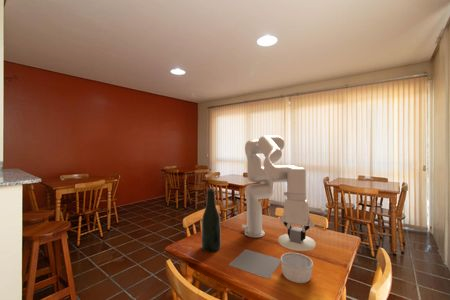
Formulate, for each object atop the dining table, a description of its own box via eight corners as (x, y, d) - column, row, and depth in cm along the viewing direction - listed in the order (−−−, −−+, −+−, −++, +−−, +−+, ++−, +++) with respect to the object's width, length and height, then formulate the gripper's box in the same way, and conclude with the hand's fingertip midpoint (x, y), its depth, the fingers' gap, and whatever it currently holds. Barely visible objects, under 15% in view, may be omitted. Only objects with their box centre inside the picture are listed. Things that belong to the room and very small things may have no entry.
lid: (273, 245, 90) (273, 231, 90) (284, 232, 102) (284, 220, 102) (311, 254, 82) (311, 239, 82) (318, 239, 94) (318, 226, 94)
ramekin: (317, 275, 93) (317, 259, 93) (305, 290, 83) (305, 272, 83) (288, 264, 102) (288, 249, 102) (274, 276, 92) (274, 260, 92)
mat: (228, 265, 100) (228, 265, 100) (245, 249, 116) (245, 249, 116) (268, 279, 90) (268, 278, 90) (282, 260, 105) (282, 259, 105)
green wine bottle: (198, 251, 114) (198, 189, 114) (205, 242, 125) (205, 186, 124) (217, 254, 112) (216, 190, 111) (223, 245, 122) (222, 186, 121)
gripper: (274, 195, 93) (274, 237, 93) (315, 200, 84) (316, 247, 84) (279, 192, 99) (280, 231, 100) (319, 196, 90) (319, 240, 91)
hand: (296, 238), depth 92 cm, fingers closed on lid, 4 cm apart
